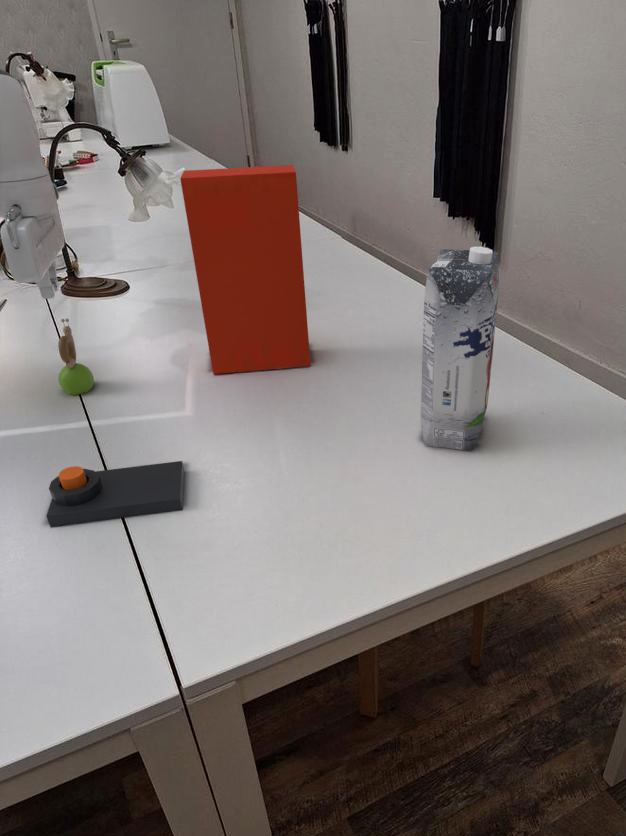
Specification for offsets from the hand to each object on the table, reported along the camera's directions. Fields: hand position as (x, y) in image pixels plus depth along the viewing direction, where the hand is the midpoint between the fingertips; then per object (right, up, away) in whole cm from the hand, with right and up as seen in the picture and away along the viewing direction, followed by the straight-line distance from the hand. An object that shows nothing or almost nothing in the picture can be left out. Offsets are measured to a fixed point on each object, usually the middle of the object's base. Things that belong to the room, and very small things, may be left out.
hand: (51, 293), depth 101 cm
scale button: (+12, -29, -18) cm, 37 cm away
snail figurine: (0, -14, +10) cm, 17 cm away
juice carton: (+62, -22, -4) cm, 66 cm away
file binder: (+30, -7, +18) cm, 36 cm away
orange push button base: (+17, -31, -16) cm, 39 cm away
